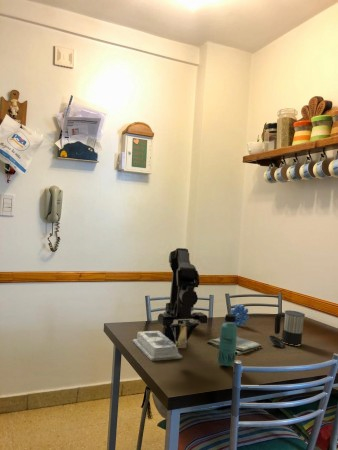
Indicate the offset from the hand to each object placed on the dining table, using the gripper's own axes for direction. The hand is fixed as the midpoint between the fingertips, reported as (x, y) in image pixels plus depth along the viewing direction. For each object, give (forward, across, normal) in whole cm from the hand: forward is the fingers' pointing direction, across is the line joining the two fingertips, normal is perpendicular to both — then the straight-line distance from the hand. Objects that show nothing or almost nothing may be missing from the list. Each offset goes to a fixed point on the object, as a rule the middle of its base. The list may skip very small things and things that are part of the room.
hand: (181, 340), depth 144 cm
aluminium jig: (+9, +3, -16) cm, 19 cm away
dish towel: (+10, -34, -14) cm, 38 cm away
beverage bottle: (+9, -17, +6) cm, 20 cm away
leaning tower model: (+9, -24, -44) cm, 51 cm away
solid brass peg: (+2, 0, 0) cm, 2 cm away
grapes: (+9, -55, -40) cm, 69 cm away
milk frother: (+9, -61, -11) cm, 62 cm away
